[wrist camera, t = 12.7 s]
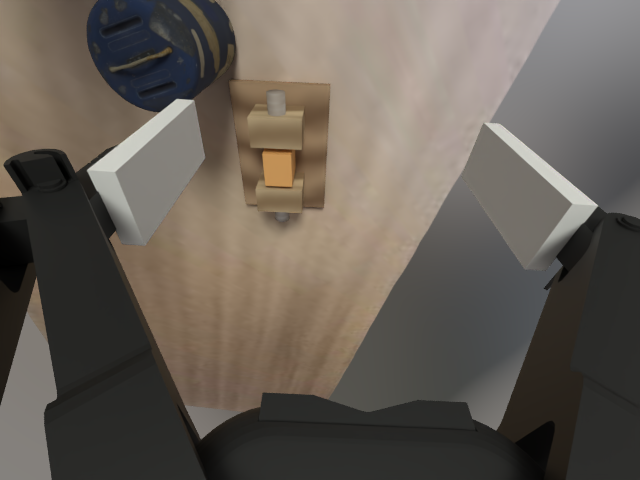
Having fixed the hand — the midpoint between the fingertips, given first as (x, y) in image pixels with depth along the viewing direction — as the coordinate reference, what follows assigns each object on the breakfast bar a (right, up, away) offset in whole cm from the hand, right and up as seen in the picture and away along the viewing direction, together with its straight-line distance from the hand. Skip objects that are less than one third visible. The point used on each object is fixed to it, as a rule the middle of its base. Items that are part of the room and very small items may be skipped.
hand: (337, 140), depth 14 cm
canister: (-16, +22, +25) cm, 37 cm away
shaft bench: (-7, +10, +35) cm, 37 cm away
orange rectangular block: (-7, +9, +34) cm, 36 cm away
